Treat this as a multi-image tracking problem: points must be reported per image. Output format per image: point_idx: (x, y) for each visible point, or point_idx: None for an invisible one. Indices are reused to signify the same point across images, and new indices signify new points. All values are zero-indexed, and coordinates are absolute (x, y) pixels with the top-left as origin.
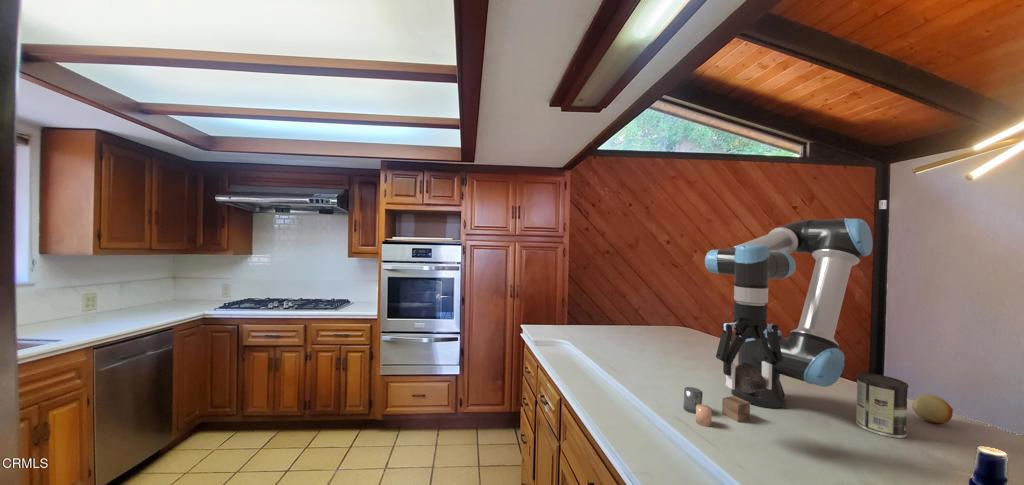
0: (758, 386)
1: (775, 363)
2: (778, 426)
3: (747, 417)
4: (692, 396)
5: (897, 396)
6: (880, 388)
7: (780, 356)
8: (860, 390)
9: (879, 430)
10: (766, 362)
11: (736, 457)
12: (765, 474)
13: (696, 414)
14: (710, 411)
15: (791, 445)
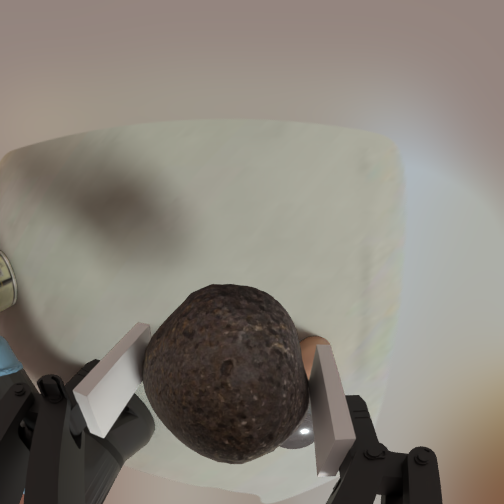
0: (243, 291)
1: (52, 383)
2: (134, 317)
3: None
4: (310, 419)
5: None
6: None
7: (8, 401)
8: None
9: (5, 264)
10: (87, 421)
11: (347, 199)
12: (326, 131)
13: None
14: (312, 359)
15: (161, 239)
